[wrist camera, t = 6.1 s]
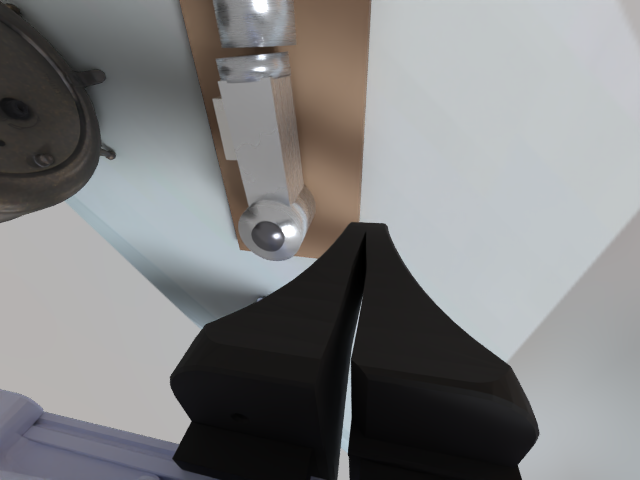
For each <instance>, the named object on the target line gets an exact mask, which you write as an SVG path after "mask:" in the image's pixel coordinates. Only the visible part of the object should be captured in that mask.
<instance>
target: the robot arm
mask: <svg viewBox="0 0 640 480" xmlns="http://www.w3.org/2000/svg"><path fill="white" fill-rule="evenodd" d="M362 297H363V298H362ZM361 301H362V305H361ZM360 306H361V311H360ZM359 311H360V316H359V322H358V327H357V333H356V338H355V343H354V348H353V353H352V357H351V349H352V343H353V338H354V333H355V329H356V324H357V320H358V315H359ZM350 357H351V402H352V420H351V429H350V438H349V447H348V456H349V475H350V480H522V478H521V475H520V472H519V468H518V464H519V463H520V461H521V460H522V459H523V458H524V457H525V455H526V454H527V453H528V452H529V451H530V449H531V448H532V447H533V446H534V444H535V443H536V441H537V439H538V436H539V429H538V424H537V421H536V418H535V415H534V413H533V410H532V408H531V405H530V403H529V401H528V399H527V397H526V395H525V393H524V391H523V389H522V387H521V385H520V383H519V381H518V379H517V377H516V375H515V373H514V372H513V370H512V368H511V366H509V365H508V364H507V363H505V362H504V361H503V360H501V359H500V358H499V357H497V356H496V355H495V354H493V353H492V352H491V351H489V350H488V349H487V348H485V347H484V346H483V345H481V344H480V343H479V342H477V341H476V340H475V339H473V338H472V337H471V336H470V335H469V334H467V333H466V332H465V331H464V330H463V329H462V328H460V327H459V326H458V325H457V324H456V323H455V322H454V321H453V320H451V319H450V318H449V317H448V316H447V315H446V314H445V313H444V312H443V311H442V310H441V309H440V308H439V307H438V306H437V305H436V304H435V303H434V302H433V300H432V299H431V298H430V297H429V296H428V295H427V294H426V293H425V291H424V290H423V289H422V288H421V286H420V285H419V284H418V283H417V281H416V280H415V279H414V277H413V276H412V274H411V273H410V271H409V270H408V268H407V267H406V265H405V264H404V262H403V261H402V259H401V257H400V255H399V253H398V252H397V250H396V248H395V246H394V244H393V241H392V239H391V237H390V234H389V231H388V226H387V225H386V224H383V223H363V222H351V223H350V224H348V226H347V227H346V228H345V230H344V231H343V232H342V234H341V235H340V236H339V237H338V238H337V240H336V241H335V242H334V243H333V244H332V245H331V246H330V247H329V248H328V250H327V251H326V252H325V253H324V254H323V255H322V256H320V257H319V258H318V259H317V260H316V261H315V262H314V263H313V264H312V265H311V266H310V267H309V268H307V269H306V270H305V271H304V272H303V273H301V274H300V275H299V276H297V277H296V278H295V279H293V280H292V281H291V282H289V283H287V284H286V285H284V286H283V287H281V288H280V289H278V290H277V291H275V292H273V293H272V294H270V295H268V296H266V297H265V298H258V299H257V301H256V302H255V303H253V304H251V305H249V306H247V307H245V308H243V309H241V310H239V311H237V312H234V313H232V314H230V315H227V316H225V317H223V318H220V319H218V320H215V321H213V322H210V323H208V324H206V325H205V326H204V327H203V329H202V330H201V331H200V333H199V334H198V335H197V337H196V338H195V339H194V341H193V342H192V344H191V346H190V347H189V349H188V350H187V352H186V353H185V355H184V356H183V358H182V359H181V361H180V362H179V364H178V365H177V367H176V369H175V370H174V371H173V373H172V374H171V376H170V386H171V389H172V391H173V393H174V395H175V397H176V398H177V400H178V401H179V403H180V404H181V406H182V407H183V409H184V410H185V412H186V413H187V415H188V416H189V418H190V419H191V421H192V422H191V424H190V426H189V428H188V429H187V431H186V433H185V435H184V437H183V439H182V441H181V442H180V444H176V443H172V442H168V441H163V440H160V439H155V438H151V437H147V436H143V435H139V434H135V433H131V432H127V431H122V430H118V429H114V428H110V427H106V426H102V425H98V424H93V423H89V422H85V421H81V420H77V419H73V418H68V417H64V416H60V415H56V414H52V413H48V412H44V411H43V408H42V407H41V406H40V405H38V404H37V403H36V402H35V401H33V400H32V399H30V398H28V397H26V396H24V395H21V394H18V393H14V392H10V391H6V390H1V389H0V480H337V477H338V466H339V457H340V447H341V438H342V428H343V419H344V410H345V400H346V392H347V383H348V374H349V365H350Z"/></svg>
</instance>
